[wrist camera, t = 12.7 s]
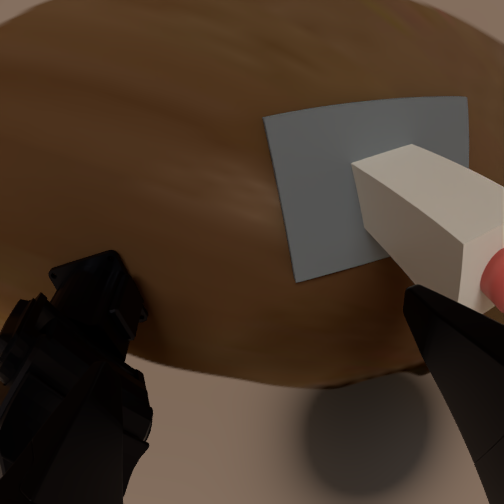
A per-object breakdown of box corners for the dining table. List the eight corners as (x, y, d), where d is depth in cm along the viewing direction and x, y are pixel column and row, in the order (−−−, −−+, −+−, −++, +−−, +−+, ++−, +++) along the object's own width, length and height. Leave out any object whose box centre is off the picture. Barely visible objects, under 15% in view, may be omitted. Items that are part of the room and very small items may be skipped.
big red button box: (364, 227, 21) (469, 353, 10) (350, 163, 19) (488, 265, 8) (419, 206, 21) (535, 305, 10) (411, 143, 18) (557, 220, 8)
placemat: (294, 278, 23) (296, 282, 23) (262, 117, 17) (263, 118, 17) (459, 230, 23) (463, 233, 23) (461, 96, 17) (466, 97, 17)
